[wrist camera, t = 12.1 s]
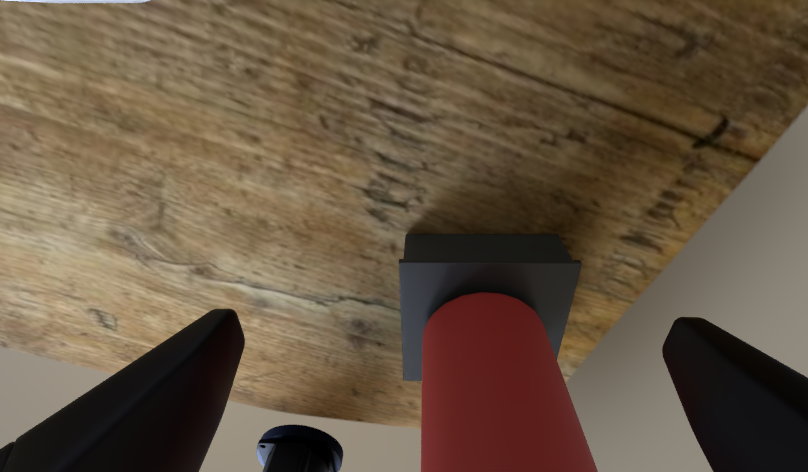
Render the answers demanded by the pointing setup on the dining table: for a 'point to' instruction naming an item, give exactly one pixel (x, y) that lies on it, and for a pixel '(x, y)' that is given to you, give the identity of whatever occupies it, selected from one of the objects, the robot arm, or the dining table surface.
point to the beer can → (495, 392)
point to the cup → (85, 1)
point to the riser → (482, 280)
